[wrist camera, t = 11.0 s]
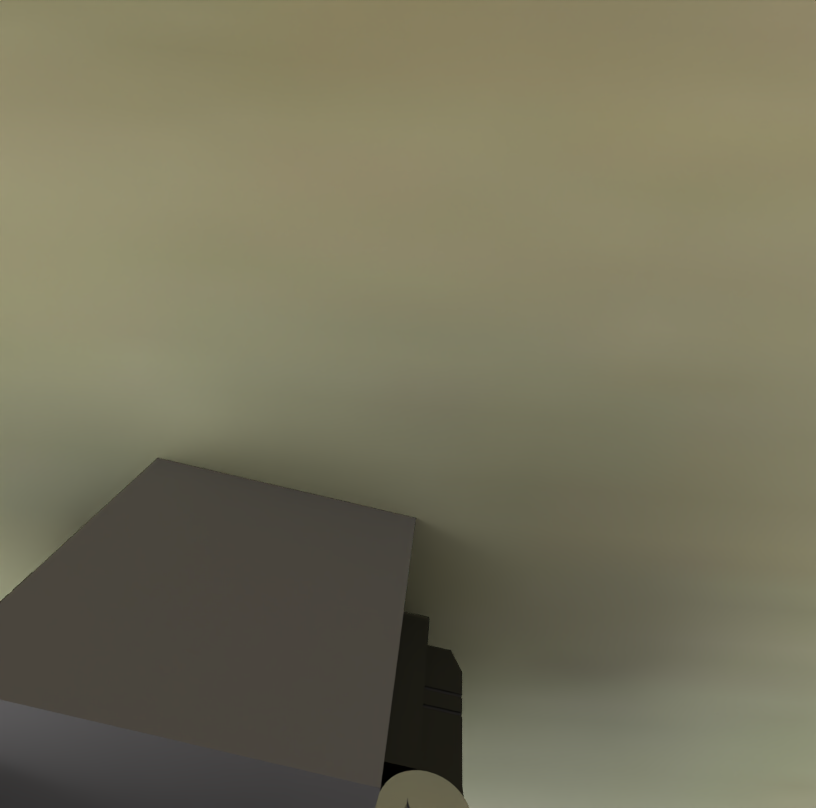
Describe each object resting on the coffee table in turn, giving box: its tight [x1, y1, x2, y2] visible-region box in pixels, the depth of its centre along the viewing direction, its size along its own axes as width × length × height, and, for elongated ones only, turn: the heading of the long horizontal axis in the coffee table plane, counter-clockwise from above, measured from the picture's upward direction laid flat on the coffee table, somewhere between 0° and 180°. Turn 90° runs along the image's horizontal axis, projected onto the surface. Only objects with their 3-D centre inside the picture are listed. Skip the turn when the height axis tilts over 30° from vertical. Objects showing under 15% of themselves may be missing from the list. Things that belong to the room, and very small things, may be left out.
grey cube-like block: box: [0, 458, 416, 808], centre depth 11 cm, size 5×5×6 cm
